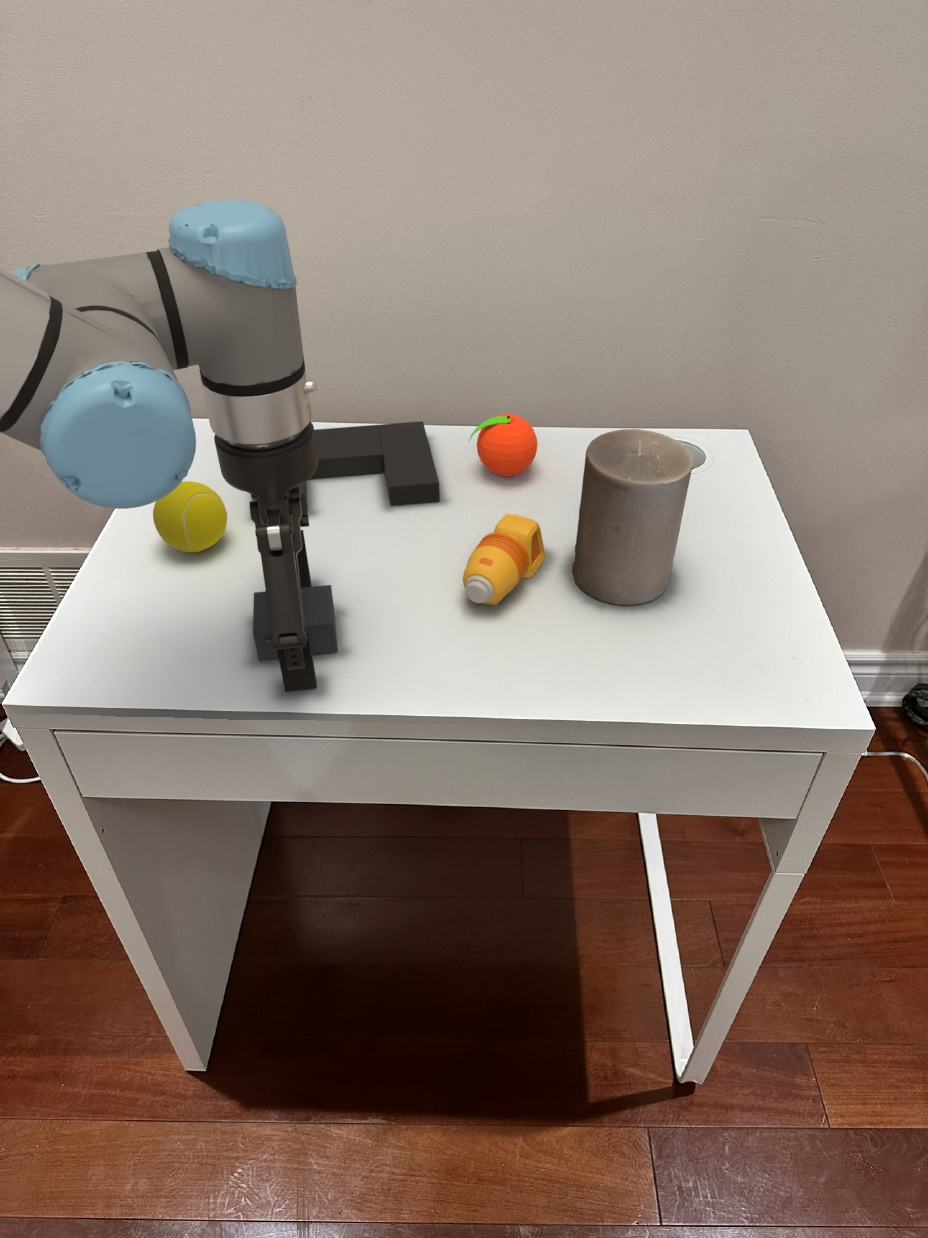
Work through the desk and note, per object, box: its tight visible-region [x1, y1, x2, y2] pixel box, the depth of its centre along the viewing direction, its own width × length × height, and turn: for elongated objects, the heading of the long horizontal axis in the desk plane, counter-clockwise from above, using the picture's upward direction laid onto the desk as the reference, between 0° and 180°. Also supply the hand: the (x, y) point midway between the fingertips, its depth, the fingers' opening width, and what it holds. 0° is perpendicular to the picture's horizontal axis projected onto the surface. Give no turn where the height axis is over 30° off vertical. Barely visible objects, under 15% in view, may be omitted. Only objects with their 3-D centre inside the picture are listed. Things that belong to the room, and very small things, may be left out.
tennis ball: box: [152, 480, 228, 553], centre depth 89 cm, size 7×7×7 cm
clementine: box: [468, 413, 538, 477], centre depth 100 cm, size 8×7×7 cm
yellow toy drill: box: [462, 513, 546, 606], centre depth 85 cm, size 5×6×12 cm
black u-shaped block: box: [300, 420, 440, 514], centre depth 101 cm, size 20×14×2 cm
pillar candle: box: [571, 428, 695, 606], centre depth 83 cm, size 10×10×15 cm
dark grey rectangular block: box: [252, 584, 339, 661], centre depth 79 cm, size 7×6×4 cm
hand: (299, 634), depth 80 cm, fingers open, 13 cm apart
